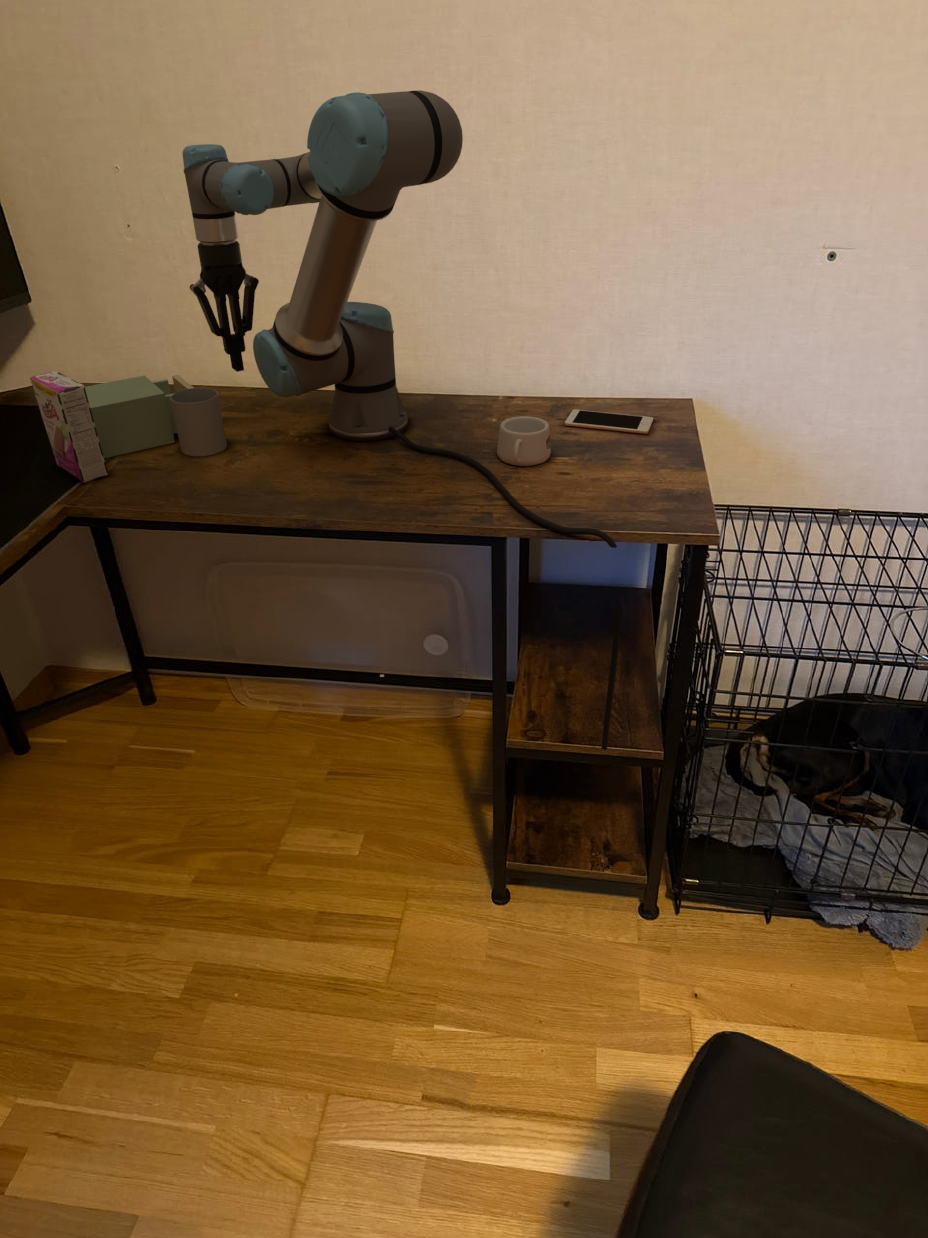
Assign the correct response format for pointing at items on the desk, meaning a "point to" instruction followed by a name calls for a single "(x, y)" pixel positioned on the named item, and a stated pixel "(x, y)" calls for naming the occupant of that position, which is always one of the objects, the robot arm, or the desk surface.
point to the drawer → (178, 385)
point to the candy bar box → (69, 425)
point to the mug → (524, 441)
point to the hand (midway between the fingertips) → (238, 369)
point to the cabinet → (129, 415)
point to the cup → (199, 421)
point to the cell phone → (609, 421)
